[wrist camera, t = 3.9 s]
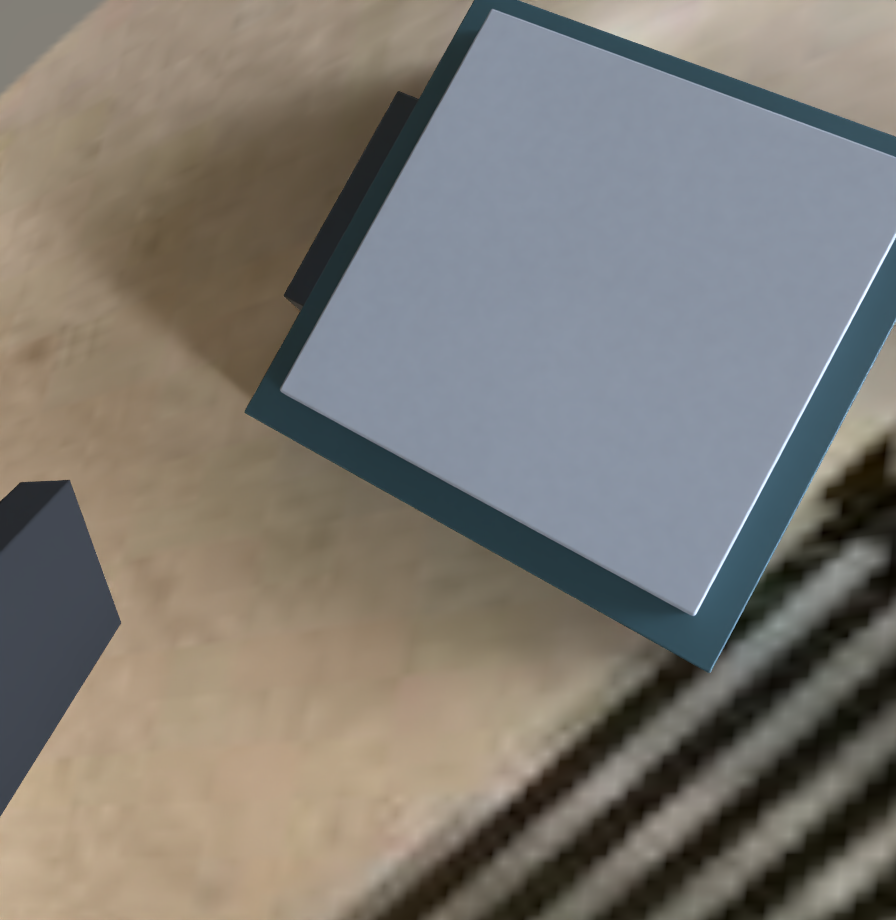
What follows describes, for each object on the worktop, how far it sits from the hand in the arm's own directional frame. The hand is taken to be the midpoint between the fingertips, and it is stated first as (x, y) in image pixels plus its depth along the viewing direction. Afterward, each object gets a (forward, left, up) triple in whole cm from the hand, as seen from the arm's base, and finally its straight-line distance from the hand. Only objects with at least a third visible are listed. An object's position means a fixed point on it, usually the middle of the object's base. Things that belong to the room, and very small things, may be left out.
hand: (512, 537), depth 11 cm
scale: (-6, +3, -11) cm, 13 cm away
